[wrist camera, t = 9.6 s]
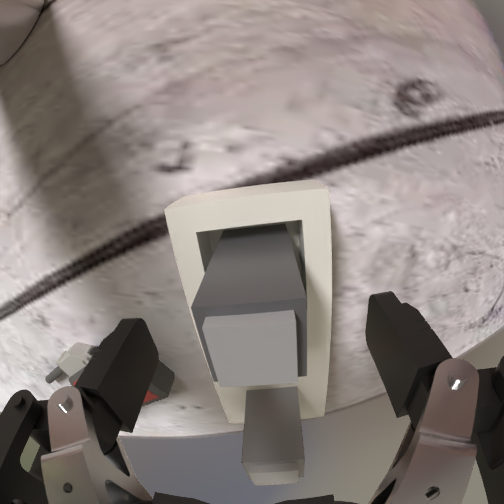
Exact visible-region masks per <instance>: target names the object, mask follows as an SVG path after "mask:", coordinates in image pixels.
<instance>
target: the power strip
mask: <svg viewBox="0 0 504 504" xmlns="http://www.w3.org/2000/svg"><path fill="white" fill-rule="evenodd" d="M164 212H165V216H166V221H167V225H168V230H169V234H170V238H171V243H172V247H173V251H174V255H175V259H176V263H177V267H178V271H179V274H180V278H181V282H182V286H183V289H184V293H185V296H186V300H187V303H188V307H189V310H190V314H191V317H192V320H193V323H194V327H195V330H196V333H197V336H198V339H199V343H200V346H201V349H202V352H203V355H204V358H205V361H206V364H207V366H208V363H207V360H206V356H205V353H204V350H203V347H202V344H201V340H200V337H199V334H198V330H197V327H196V323H195V320H194V316H193V313H192V309H191V306H192V303H193V301H194V298H195V296H196V294H197V291H198V289H199V286H200V284H201V282H202V279H203V277H204V274H205V272H206V270H207V267H208V265H209V263H210V260H211V258H212V256H213V253H214V251H215V249H216V246H217V244H218V242H219V239H220V237H221V235H222V233H223V230H232V229H241V228H250V227H260V226H269V225H279V224H286V227H287V231H288V234H289V237H290V241H291V244H292V248H293V251H294V255H295V258H296V262H297V265H298V269H299V272H300V276H301V280H302V283H303V287H304V291H305V294H306V303H307V376H302V377H298V382H294V383H284V384H272V385H256V386H230V387H220V385H219V382H214V381H213V378H212V375H211V372H210V369H209V366H208V369H209V372H210V375H211V378H212V381H213V383H214V386H215V389H216V392H217V394H218V397H219V400H220V402H221V405H222V407H223V410H224V412H225V415H226V418H227V420H228V422H229V424H243V423H244V433H243V448H242V462H241V463H242V464H243V467H244V469H245V471H246V473H247V475H248V477H249V479H250V480H253V482H254V484H255V485H276V484H290V483H298V477H303V476H304V460H305V459H304V447H303V436H302V426H301V419H309V418H316V417H323V416H324V415H325V406H326V396H327V386H328V374H329V360H330V342H331V317H332V244H331V218H330V201H329V188H328V187H326V186H324V185H323V184H321V183H320V182H318V181H317V180H315V179H313V180H302V181H291V182H282V183H272V184H264V185H256V186H248V187H240V188H233V189H226V190H219V191H212V192H206V193H199V194H193V195H187V196H183V197H181V198H180V199H178V200H177V201H175V202H174V203H172V204H171V205H170V206H168V207H167V208H165V209H164Z"/></svg>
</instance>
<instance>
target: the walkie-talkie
mask: <svg viewBox="0 0 504 504" xmlns="http://www.w3.org/2000/svg"><path fill="white" fill-rule="evenodd" d="M97 349H98V347H95V346H93V345H88V344H83V343H76V344H75V345H74V346H72V347H71V348H70V349H69V350H68V351H65V352H64V353H63V354H62V355H61V357H60V358H59V359H58V361H57V362H56V364H57V365H58V367H56V368H55V369H54V370H53V371H52V372H51V373H50V374H49V375H48V376H46V382H47V383H52V382H53V381H54V380H55V379H57V378H58V377H59V376H61V375H62V374H63V373H66V374H67V375H68V376H69V377H70V378H69V382H70V384H71V385H72V387H74V385H75V384H76V382H77V380H78V379H79V377H80V375H81V374H82V372H83V371H84V369H85V367H86V366H87V364H88V363H89V361H90V359H92V356H93V355H94V353H95V352H96V351H97ZM173 380H174V372H172V371H171V370H170V369H169V368H168V367H166V366H165V365H164V364H163V363H162V362H161V361H159V360H158V365H157V368H156V371H155V373H154V376H153V378H152V381H151V383H150V386H149V389H148V391H147V394H146V396H145V399H144V402H143V404H142V406H144V405H148V404H150V403H152V402H154V401H158V400H161V399H162V398H163V399H164V398H165V397H168V395H169V392H170V389H171V386H172V383H173Z"/></svg>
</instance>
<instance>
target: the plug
mask: <svg viewBox="0 0 504 504" xmlns="http://www.w3.org/2000/svg"><path fill="white" fill-rule="evenodd" d="M191 309H192V313H193V316H194V320H195V323H196V327H197V330H198V334H199V337H200V340H201V344H202V347H203V350H204V353H205V356H206V360H207V363H208V366H209V369H210V372H211V375H212V378H213V381H214V382H219V385H220V387H230V386H256V385H272V384H284V383H294V382H298V377H302V376H307V303H306V294H305V291H304V287H303V283H302V280H301V276H300V272H299V269H298V265H297V262H296V258H295V255H294V251H293V248H292V244H291V241H290V237H289V234H288V231H287V227H286V224H279V225H269V226H260V227H250V228H241V229H232V230H223V233H222V235H221V237H220V239H219V242H218V244H217V246H216V249H215V251H214V253H213V256H212V258H211V260H210V263H209V265H208V267H207V270H206V272H205V274H204V277H203V279H202V282H201V284H200V286H199V289H198V291H197V294H196V296H195V298H194V301H193V303H192V306H191Z"/></svg>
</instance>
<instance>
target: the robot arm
mask: <svg viewBox="0 0 504 504" xmlns="http://www.w3.org/2000/svg"><path fill="white" fill-rule="evenodd" d="M43 5H44V0H0V65H2V64H4V63H5V62H6V61H8V60H9V59H10V58H11V57H12V56H13V55H14V53H15V52H16V51H17V50H18V49H19V47H20V46H21V45H22V43H23V42H24V40H25V39H26V37H27V36H28V34H29V33H30V31H31V30H32V28H33V26H34V24H35V22H36V21H37V19H38V17H39V14H40V12H41V10H42V7H43ZM366 341H367V345H368V348H369V350H370V353H371V355H372V357H373V359H374V362H375V364H376V366H377V369H378V371H379V374H380V376H381V378H382V381H383V383H384V386H385V388H386V391H387V393H388V396H389V398H390V401H391V403H392V406H393V408H394V411H395V414H396V416H397V418H398V417H401V416H405V415H409V417H410V420H411V422H410V424H409V426H408V428H407V431H406V433H405V436H404V439H403V441H402V443H401V445H400V448H399V450H398V452H397V454H396V457H395V459H394V461H393V463H392V465H391V467H390V469H389V471H388V473H387V474H386V476H385V478H384V479H383V481H382V482H381V484H380V485H379V487H378V489H377V490H376V492H375V494H374V495H373V497H372V499H371V500H370V502H369V504H461V503H462V500H463V497H464V495H465V492H466V489H467V486H468V483H469V480H470V476H471V473H472V470H473V466H474V462H475V458H476V461H477V464H478V467H479V470H480V473H481V476H482V480H483V484H484V487H485V491H486V495H487V499H488V504H504V356H503V357H502V359H501V361H500V363H499V364H498V366H497V367H495V368H488V369H479V370H476V368H475V367H474V366H473V365H472V364H471V363H469V362H468V361H466V360H464V359H459V358H452V356H451V355H450V353H449V352H448V351H447V349H446V348H445V346H444V345H443V343H442V342H441V341H440V339H439V338H438V336H437V335H436V334H435V332H434V331H433V329H431V327H430V325H429V324H428V323H427V321H425V319H424V317H423V316H422V315H421V314H420V312H419V311H418V310H417V309H416V308H414V307H412V306H411V305H409V304H408V303H402V304H401V302H400V301H399V300H398V298H397V297H396V296H395V294H394V293H393V292H392V291H389V292H384V293H378V294H373V295H371V296H370V298H369V304H368V314H367V323H366ZM158 360H159V357H158V351H157V348H156V346H155V344H154V341H153V339H152V337H151V335H150V332H149V330H148V328H147V325H146V323H145V321H144V320H143V319H141V318H132V319H122V320H121V321H120V323H119V324H118V326H117V327H116V329H115V330H114V332H112V333H111V334H110V335H108V336H107V337H106V338H105V339H104V340H103V341H102V342H101V344H100V345H99V347H98V349H97V351H96V352H95V353H94V355H93V356H92V359H90V361H89V363H88V364H87V366H86V367H85V369H84V371H83V372H82V374H81V375H80V377H79V379H78V380H77V382H76V384H75V385H74V387H72V386H67V387H63V388H60V389H58V390H57V391H56V392H54V393H53V394H52V396H51V397H50V399H49V400H40V401H37V400H36V398H35V397H34V396H33V395H32V393H31V392H30V391H28V390H20V391H18V392H16V393H15V394H14V395H13V396H12V397H11V398H10V400H9V401H8V403H7V405H6V406H5V408H4V410H3V411H2V413H1V415H0V504H209V503H206V502H203V501H200V500H197V499H194V498H186V497H179V496H173V495H168V494H162V493H157V492H155V494H154V498H153V499H152V497H151V496H150V494H149V493H148V492H147V490H146V489H145V488H144V487H143V486H142V485H141V484H140V482H139V481H138V479H137V477H136V475H135V473H134V471H133V469H132V466H131V464H130V462H129V459H128V457H127V454H126V452H125V449H124V447H123V444H122V442H121V440H120V438H119V437H118V434H119V431H125V432H130V433H132V432H133V429H134V426H135V423H136V421H137V418H138V415H139V412H140V410H141V407H142V404H143V402H144V399H145V396H146V394H147V391H148V389H149V386H150V383H151V381H152V378H153V376H154V373H155V371H156V368H157V365H158ZM29 436H30V437H31V438H33V439H34V440H35V441H36V442H37V443H38V444H39V445H40V447H39V450H38V452H37V455H36V457H35V459H34V462H33V464H32V467H31V469H30V471H29V472H27V471H25V470H24V469H23V468H22V467H21V464H20V456H21V454H22V452H23V449H24V447H25V445H26V443H27V441H28V438H29ZM276 504H357V503H353V502H344V501H334V496H333V495H326V496H321V497H314V498H307V499H297V500H287V501H283V502H280V503H276Z"/></svg>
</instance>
